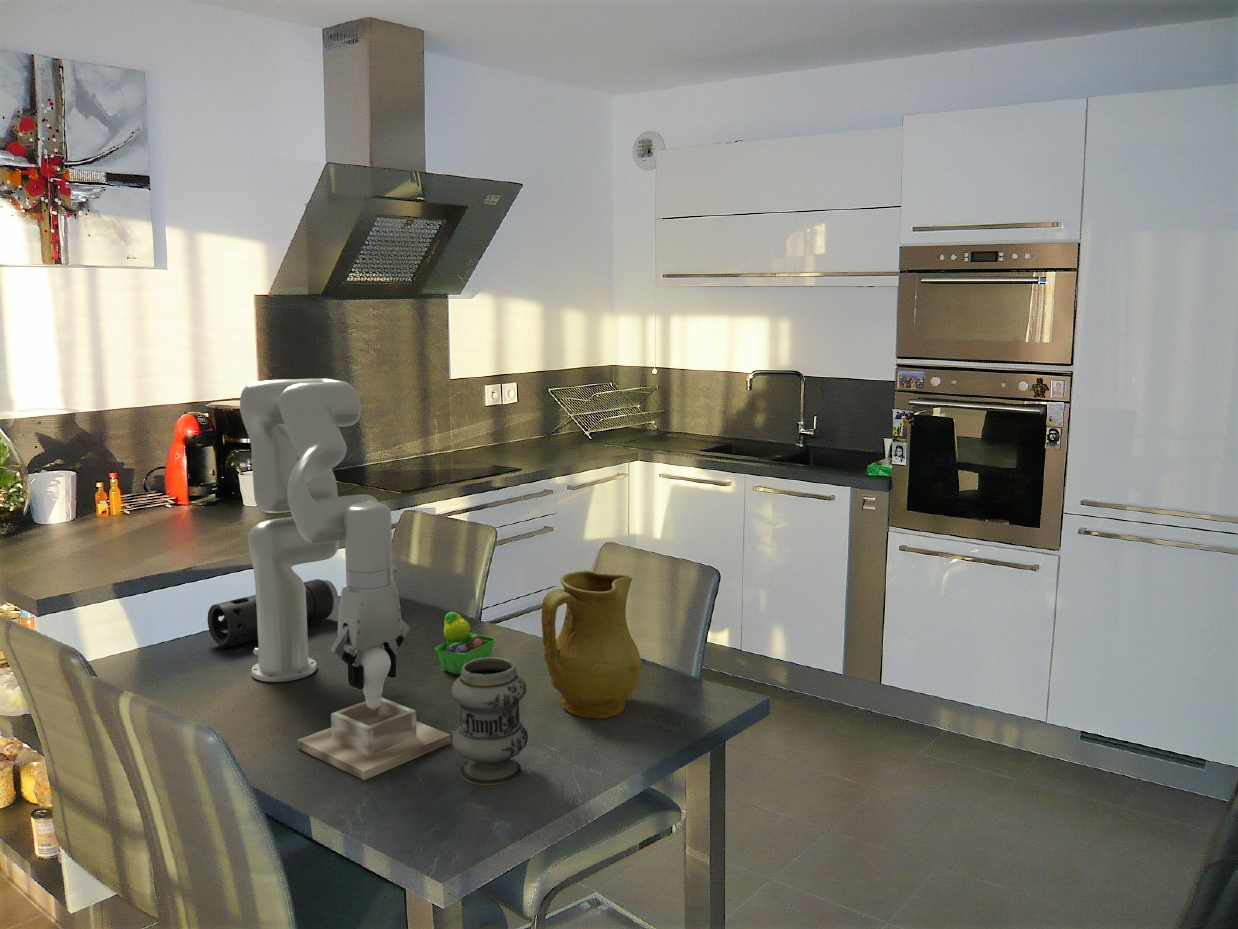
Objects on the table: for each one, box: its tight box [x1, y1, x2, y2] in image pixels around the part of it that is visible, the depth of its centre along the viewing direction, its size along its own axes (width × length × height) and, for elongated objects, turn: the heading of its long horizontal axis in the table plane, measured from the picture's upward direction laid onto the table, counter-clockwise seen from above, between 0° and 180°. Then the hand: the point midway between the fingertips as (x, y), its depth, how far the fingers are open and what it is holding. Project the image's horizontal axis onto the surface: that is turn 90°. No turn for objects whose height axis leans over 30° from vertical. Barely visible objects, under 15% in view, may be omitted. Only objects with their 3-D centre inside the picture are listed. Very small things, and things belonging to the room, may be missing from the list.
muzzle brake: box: [207, 579, 340, 649], centre depth 229 cm, size 10×28×10 cm, turn 141°
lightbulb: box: [360, 645, 391, 710], centre depth 170 cm, size 6×6×11 cm
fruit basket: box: [435, 611, 496, 676], centre depth 210 cm, size 11×9×11 cm
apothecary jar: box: [451, 656, 529, 786], centre depth 162 cm, size 12×12×18 cm
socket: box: [297, 696, 451, 781], centre depth 172 cm, size 18×18×6 cm
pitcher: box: [540, 569, 642, 719], centre depth 188 cm, size 17×19×25 cm
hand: (372, 680), depth 171 cm, fingers closed on lightbulb, 6 cm apart
